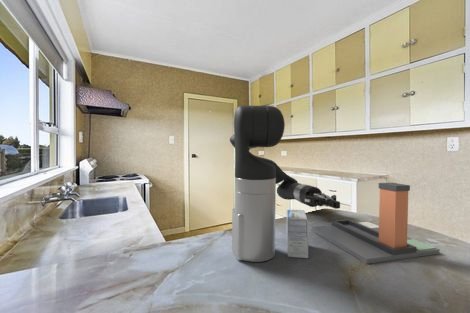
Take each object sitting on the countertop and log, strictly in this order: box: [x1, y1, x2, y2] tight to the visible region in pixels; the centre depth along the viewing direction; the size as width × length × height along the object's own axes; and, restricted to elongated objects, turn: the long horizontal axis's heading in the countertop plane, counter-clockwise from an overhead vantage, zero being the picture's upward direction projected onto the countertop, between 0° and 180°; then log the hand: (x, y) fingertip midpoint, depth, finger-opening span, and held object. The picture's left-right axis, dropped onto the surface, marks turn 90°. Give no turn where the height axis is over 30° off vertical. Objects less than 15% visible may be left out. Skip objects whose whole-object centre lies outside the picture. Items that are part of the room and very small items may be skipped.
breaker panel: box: [310, 219, 441, 264], centre depth 58 cm, size 20×20×2 cm
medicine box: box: [286, 209, 309, 259], centre depth 52 cm, size 8×4×9 cm, turn 168°
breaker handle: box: [378, 182, 411, 248], centre depth 51 cm, size 4×4×14 cm
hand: (337, 205), depth 69 cm, fingers closed
